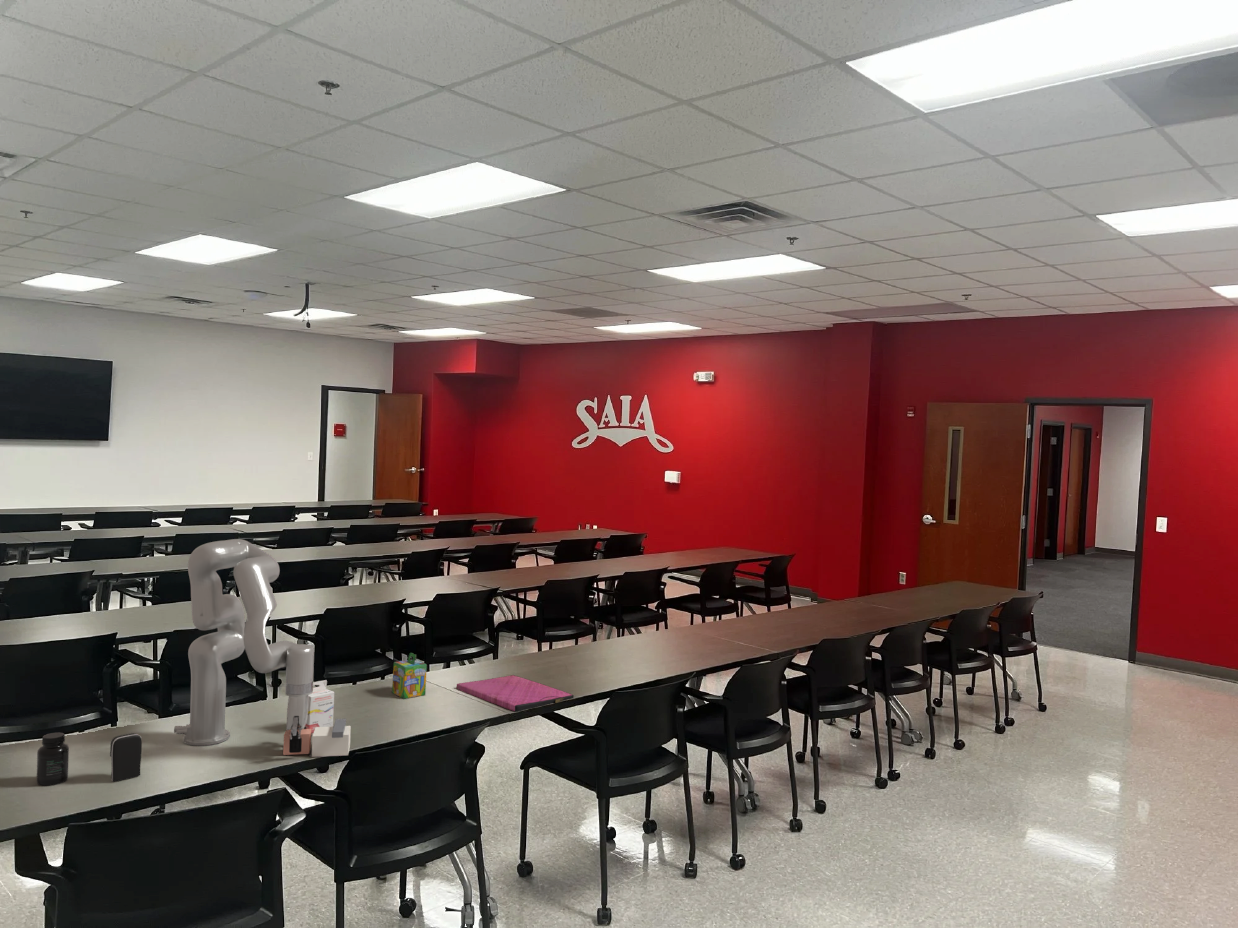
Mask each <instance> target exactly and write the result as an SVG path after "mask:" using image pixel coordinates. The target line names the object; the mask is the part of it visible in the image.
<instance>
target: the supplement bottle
mask: <svg viewBox="0 0 1238 928" xmlns="http://www.w3.org/2000/svg"><path fill="white" fill-rule="evenodd" d="M65 737H66V736H65V733H63V732H51V733H47V734H44V735H43V736H42V742H41V746H40V747H39V748H38V750H37V756H36V784H37V785H38V786H41V787H43V786H44V787H49V786H50V787H51V786H55V785H60V784H61V783H64V782H65V781H67V780H68V778H69V760H70V759H69V758H70V757H69V753H70V752H69V751H70V750H69V748H70V747H69V744H67V743H65V741H66V739H65Z"/></svg>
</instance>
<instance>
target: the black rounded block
mask: <svg viewBox="0 0 1238 928" xmlns="http://www.w3.org/2000/svg"><path fill="white" fill-rule="evenodd" d="M142 743H143V740H142V736H141V735H140V734H138V733H135V732H131V733H125V734H121V735H117V736H115V737H113V738H112V739H111V741H110V747H109V750H110V751H109V756H110V759H111V772H110V773H111V774H110V778H111V781H112V782H119V781H125V780H130V779H133V778H137V777H141V763H142V750H143V748H142V746H143V745H142Z"/></svg>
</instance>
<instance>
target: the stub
mask: <svg viewBox="0 0 1238 928" xmlns="http://www.w3.org/2000/svg"><path fill="white" fill-rule="evenodd" d="M298 732H299V731H298ZM290 734H291V729H290V730H288V731H287V730H285V732H284V734H283V753H282V755H283V756H286V755H287V756H289V755H310V753H311V750H312V733H311V729H303V730H301V738H302V745H301V752H297V753H290V752H289V743H290ZM298 734H299V733H298Z"/></svg>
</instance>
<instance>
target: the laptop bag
mask: <svg viewBox="0 0 1238 928" xmlns="http://www.w3.org/2000/svg"><path fill="white" fill-rule="evenodd" d="M456 689H457V690H459V691H461V692H464V693H465V694H469V695H471V696H474V697H476V698H479V699H481V700H484V701H486V702H489V703H492V704H494V705H497V706H499V707H501V708H504V709H506V710H510V711H512V712H521V711H525V710H530V709H533V708H534V709H535V708H536V707H540V706H545V705H549V704H557V703H561V702H563V701H568V700H571V699H574V695H573V694H572V693H569V692H567V691H564V690H561V689H558V688H556V687H552V686H549V685H546V684H543V683H539V682H537V681H533V680H531V679H528V678H525V677H522V676H518V675H514V674H512V675H506V676H505V675H504V676H501V677H500V676H499V677H494V678H493V677H492V678H487V679H480V680H473V681H467V682H466V681H464V682H459V683H457V684H456Z"/></svg>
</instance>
